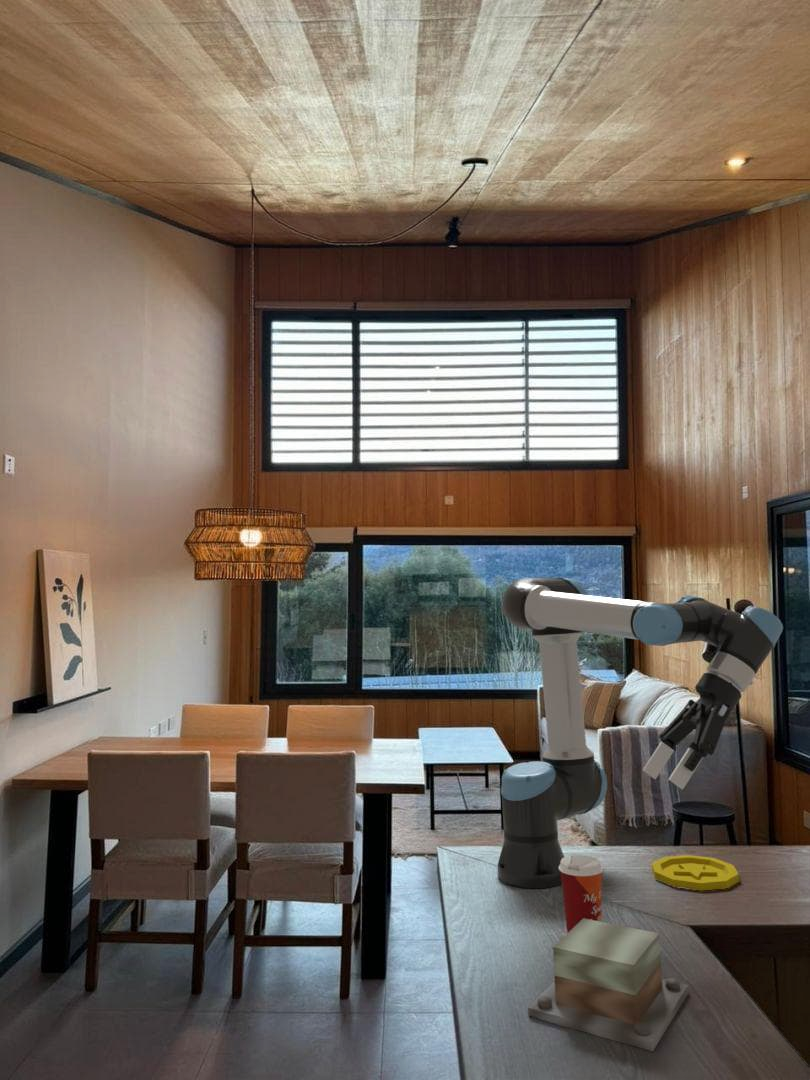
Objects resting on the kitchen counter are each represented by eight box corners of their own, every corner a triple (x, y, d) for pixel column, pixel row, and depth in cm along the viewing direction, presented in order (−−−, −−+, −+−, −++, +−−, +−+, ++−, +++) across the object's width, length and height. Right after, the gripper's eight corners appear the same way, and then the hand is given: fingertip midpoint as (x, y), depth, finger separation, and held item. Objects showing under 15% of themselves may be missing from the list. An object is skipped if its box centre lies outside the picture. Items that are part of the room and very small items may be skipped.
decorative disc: (637, 880, 169) (636, 870, 170) (678, 859, 181) (678, 850, 182) (712, 899, 157) (712, 889, 157) (752, 875, 169) (751, 866, 169)
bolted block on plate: (528, 1016, 116) (525, 950, 116) (576, 966, 130) (572, 908, 131) (652, 1051, 106) (648, 979, 106) (688, 992, 120) (684, 930, 121)
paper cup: (599, 956, 134) (594, 870, 135) (555, 947, 138) (551, 864, 139) (613, 938, 140) (608, 857, 141) (571, 930, 144) (567, 851, 145)
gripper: (774, 696, 134) (707, 802, 131) (712, 693, 159) (655, 783, 156) (736, 670, 135) (669, 775, 132) (681, 671, 159) (623, 759, 156)
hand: (661, 779), depth 144 cm, fingers open, 13 cm apart
